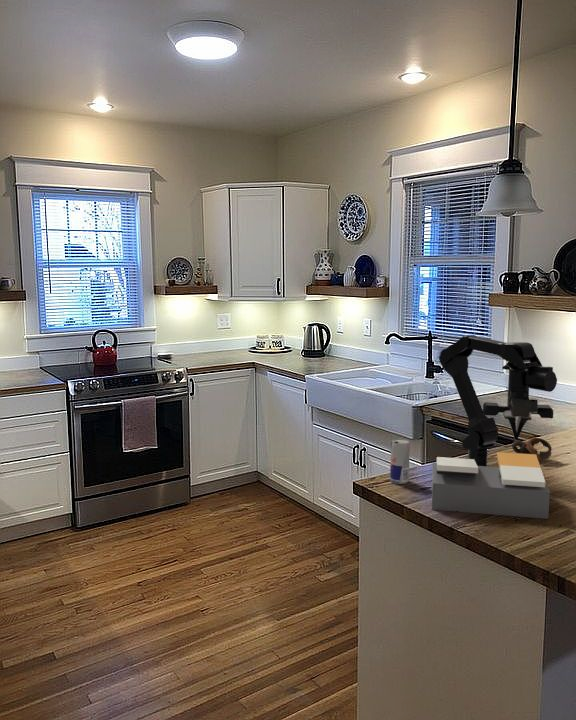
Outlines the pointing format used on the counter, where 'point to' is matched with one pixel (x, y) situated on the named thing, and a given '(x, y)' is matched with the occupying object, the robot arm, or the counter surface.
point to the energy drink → (399, 461)
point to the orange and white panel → (520, 469)
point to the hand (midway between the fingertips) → (515, 439)
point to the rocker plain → (456, 465)
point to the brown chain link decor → (532, 448)
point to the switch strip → (487, 494)
